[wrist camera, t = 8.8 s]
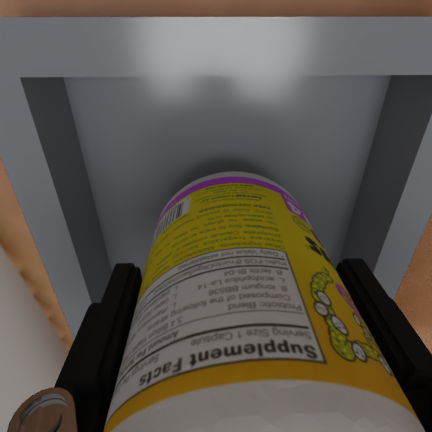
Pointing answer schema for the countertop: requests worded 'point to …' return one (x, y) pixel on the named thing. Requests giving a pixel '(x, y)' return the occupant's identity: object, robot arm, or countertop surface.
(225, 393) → the supplement bottle
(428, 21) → the gray rectangular tray
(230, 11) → the countertop surface
